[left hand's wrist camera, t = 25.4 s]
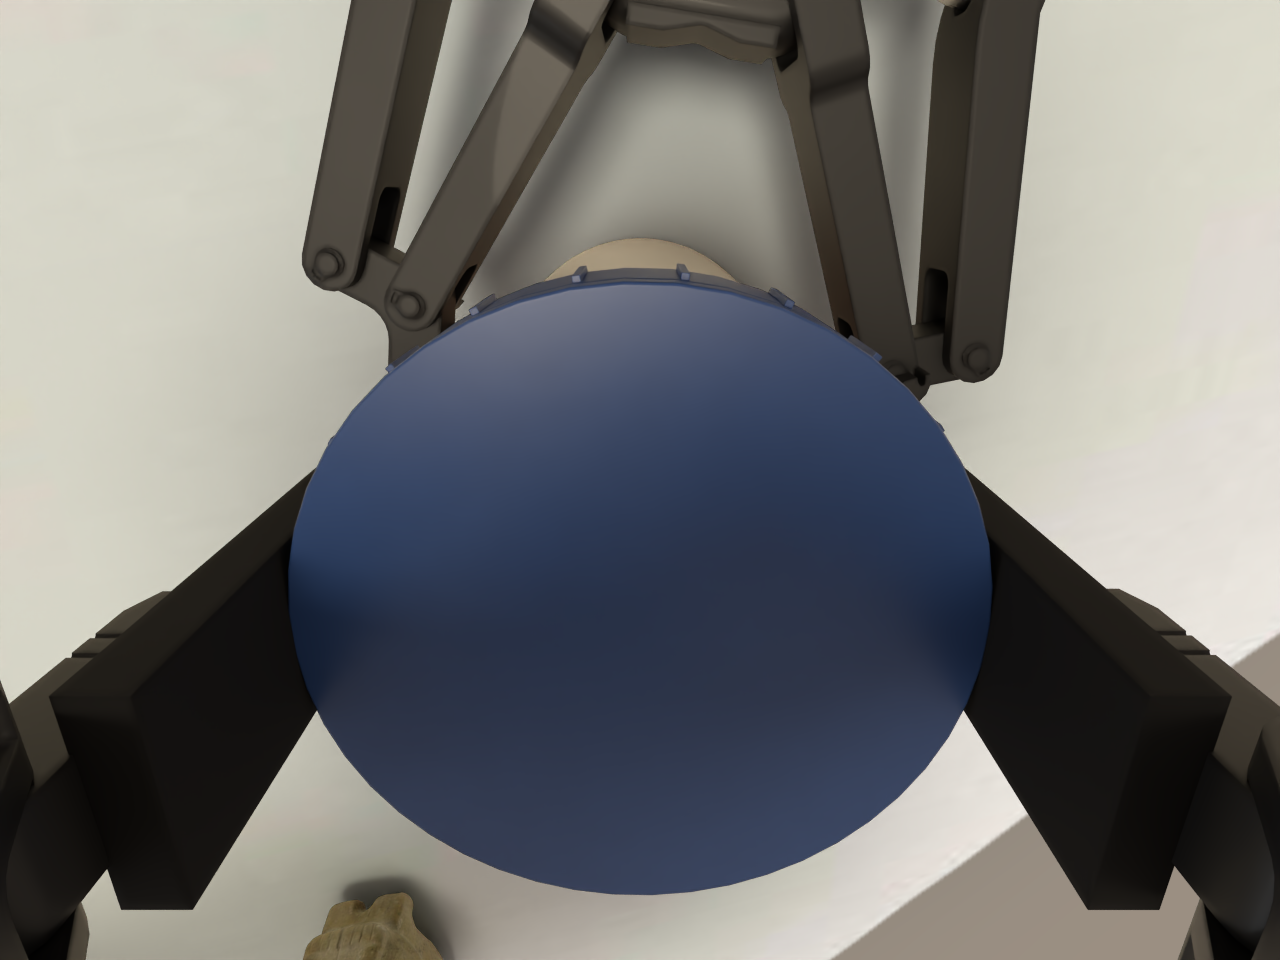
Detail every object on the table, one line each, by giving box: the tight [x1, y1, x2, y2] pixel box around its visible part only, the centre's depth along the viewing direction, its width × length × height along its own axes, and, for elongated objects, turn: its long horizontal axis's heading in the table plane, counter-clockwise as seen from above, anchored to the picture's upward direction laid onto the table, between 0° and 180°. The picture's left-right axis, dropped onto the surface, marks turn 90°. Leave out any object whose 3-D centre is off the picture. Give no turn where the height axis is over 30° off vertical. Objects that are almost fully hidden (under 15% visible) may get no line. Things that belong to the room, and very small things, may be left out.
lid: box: [288, 263, 993, 895], centre depth 11 cm, size 10×10×2 cm
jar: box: [543, 238, 737, 282], centre depth 18 cm, size 9×9×15 cm
